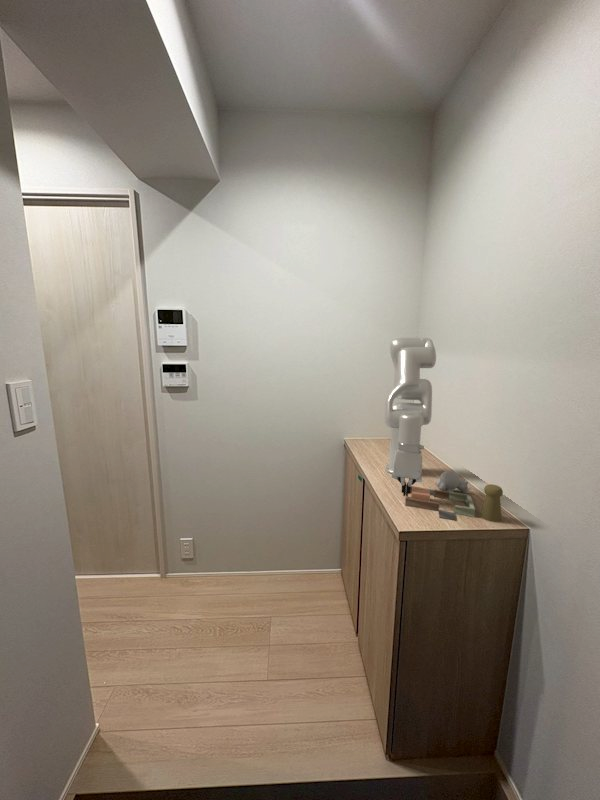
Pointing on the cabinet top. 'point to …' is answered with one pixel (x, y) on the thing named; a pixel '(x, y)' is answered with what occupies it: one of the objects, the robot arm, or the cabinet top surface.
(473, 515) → the trap lane
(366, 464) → the cabinet top surface
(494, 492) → the cork
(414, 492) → the salmon block
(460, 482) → the toy rhinoceros
